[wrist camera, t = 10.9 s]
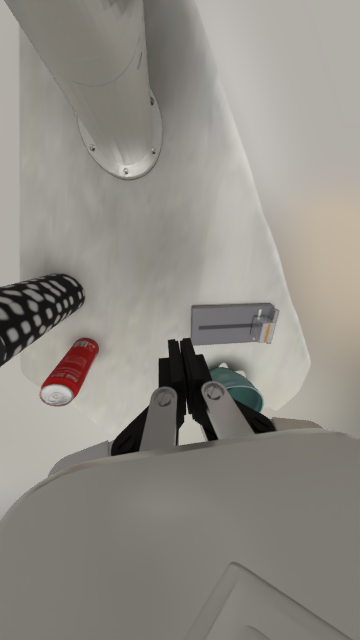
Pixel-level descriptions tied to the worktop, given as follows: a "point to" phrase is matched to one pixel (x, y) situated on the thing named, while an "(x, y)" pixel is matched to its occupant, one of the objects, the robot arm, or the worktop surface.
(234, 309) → the fader console
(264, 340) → the fader knob
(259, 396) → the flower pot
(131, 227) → the worktop surface
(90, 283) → the worktop surface
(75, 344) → the beverage can
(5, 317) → the white-spotted black cylinder
